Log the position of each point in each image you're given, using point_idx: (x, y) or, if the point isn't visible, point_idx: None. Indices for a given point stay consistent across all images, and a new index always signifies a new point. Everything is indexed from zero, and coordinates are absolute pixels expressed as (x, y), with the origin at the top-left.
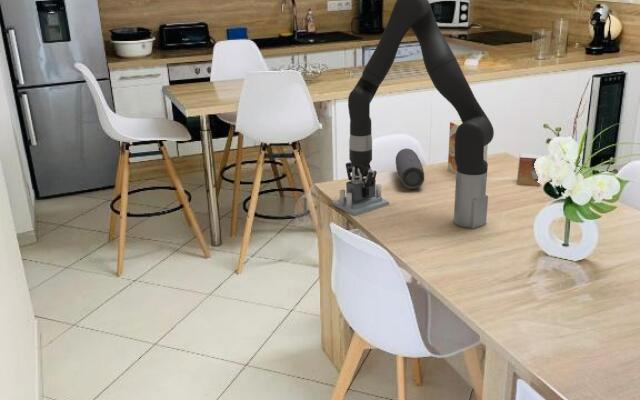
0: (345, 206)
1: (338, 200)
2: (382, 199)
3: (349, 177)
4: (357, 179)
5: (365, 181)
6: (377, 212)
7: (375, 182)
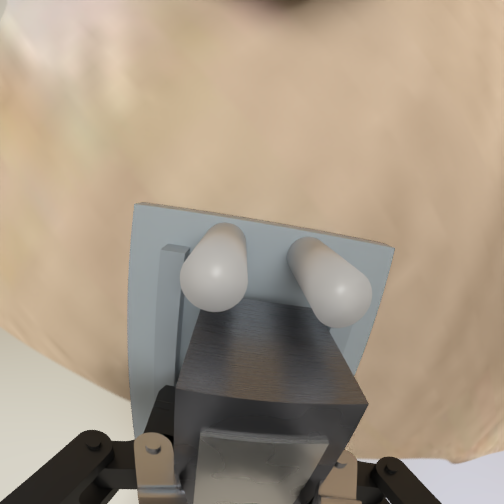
0: None
1: (138, 420)
2: (340, 248)
3: (105, 490)
4: (182, 486)
5: (301, 491)
6: (384, 368)
7: (357, 384)
